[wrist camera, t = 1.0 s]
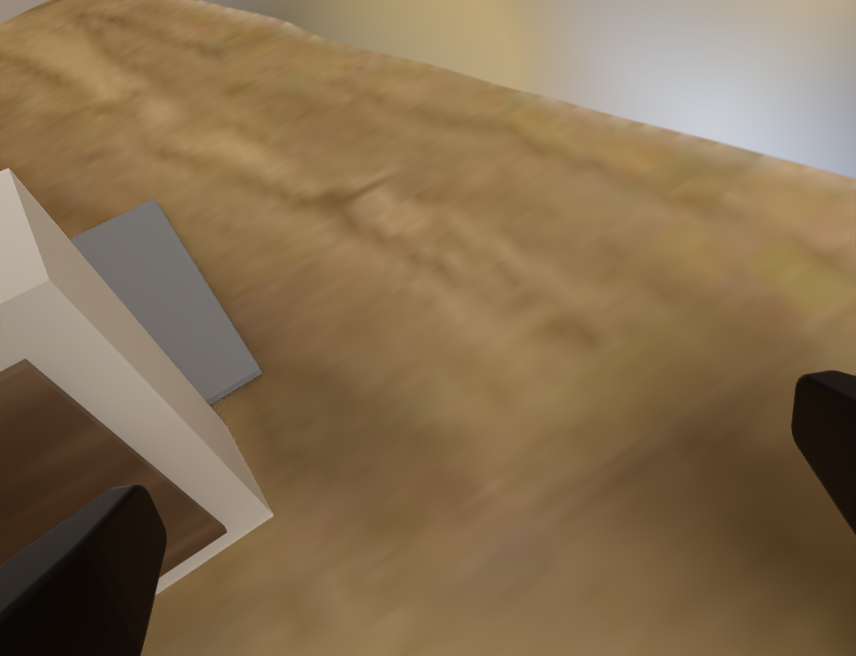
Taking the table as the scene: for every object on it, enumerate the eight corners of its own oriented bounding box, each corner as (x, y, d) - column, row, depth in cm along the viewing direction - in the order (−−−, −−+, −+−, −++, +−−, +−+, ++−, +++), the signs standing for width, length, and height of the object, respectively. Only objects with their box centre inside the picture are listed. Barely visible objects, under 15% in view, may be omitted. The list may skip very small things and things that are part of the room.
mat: (263, 373, 27) (259, 368, 27) (-98, 589, 23) (-106, 587, 23) (157, 203, 36) (154, 198, 36) (-118, 338, 32) (-124, 333, 32)
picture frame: (277, 521, 23) (52, 287, 12) (-6, 714, 20) (-645, 639, 9) (226, 426, 26) (8, 168, 15) (-27, 582, 23) (-530, 405, 12)
